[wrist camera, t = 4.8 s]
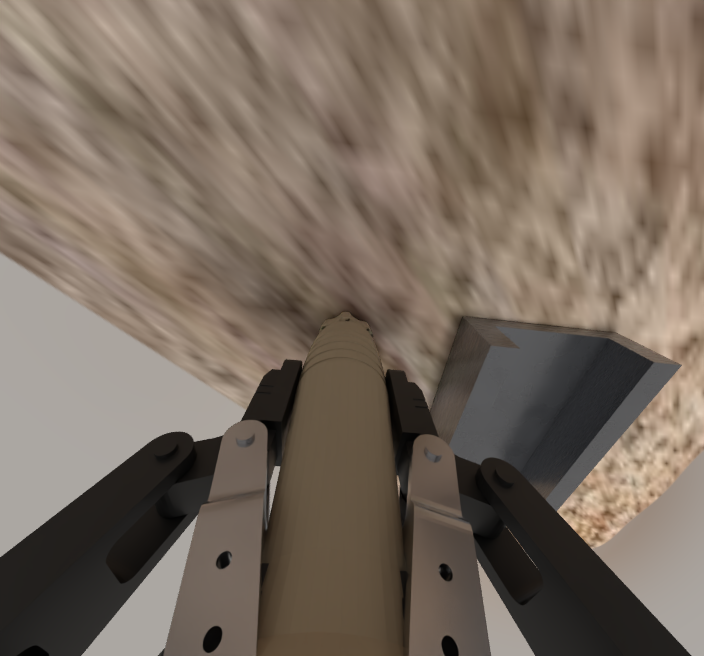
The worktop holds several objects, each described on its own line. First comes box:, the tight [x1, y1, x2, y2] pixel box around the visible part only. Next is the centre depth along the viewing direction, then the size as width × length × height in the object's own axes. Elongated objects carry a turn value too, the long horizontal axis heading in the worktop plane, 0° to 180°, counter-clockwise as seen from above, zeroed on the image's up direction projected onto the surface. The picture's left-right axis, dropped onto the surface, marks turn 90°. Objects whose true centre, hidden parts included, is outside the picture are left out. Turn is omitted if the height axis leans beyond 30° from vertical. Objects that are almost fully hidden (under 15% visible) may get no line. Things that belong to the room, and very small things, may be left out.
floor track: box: [430, 316, 682, 511], centre depth 17 cm, size 14×10×4 cm
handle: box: [257, 312, 407, 656], centre depth 9 cm, size 5×6×15 cm
